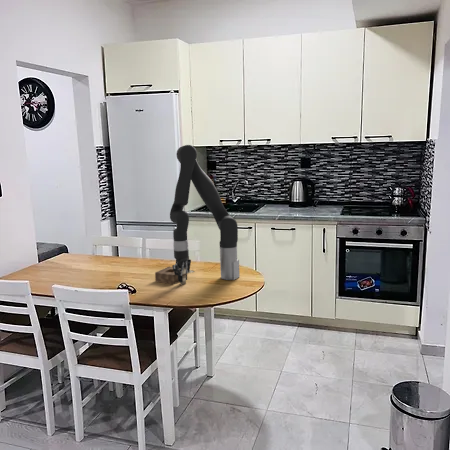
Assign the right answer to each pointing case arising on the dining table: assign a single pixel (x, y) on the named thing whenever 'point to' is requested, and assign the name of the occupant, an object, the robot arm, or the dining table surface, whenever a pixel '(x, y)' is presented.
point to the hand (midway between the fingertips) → (182, 280)
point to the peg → (183, 277)
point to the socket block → (166, 276)
